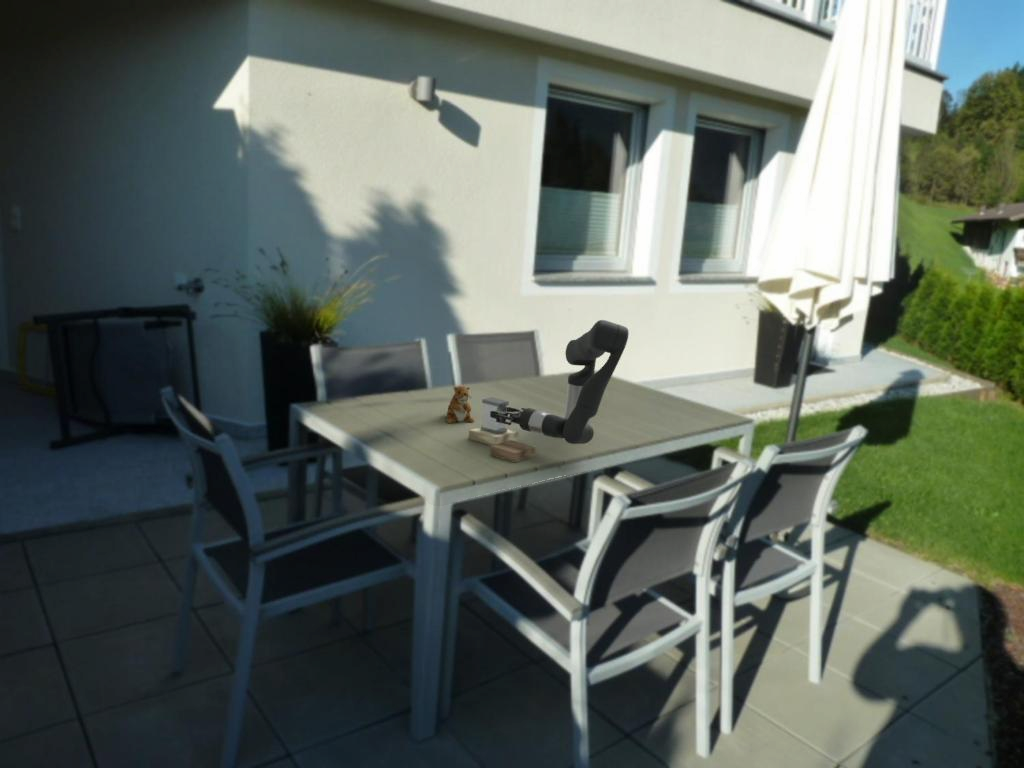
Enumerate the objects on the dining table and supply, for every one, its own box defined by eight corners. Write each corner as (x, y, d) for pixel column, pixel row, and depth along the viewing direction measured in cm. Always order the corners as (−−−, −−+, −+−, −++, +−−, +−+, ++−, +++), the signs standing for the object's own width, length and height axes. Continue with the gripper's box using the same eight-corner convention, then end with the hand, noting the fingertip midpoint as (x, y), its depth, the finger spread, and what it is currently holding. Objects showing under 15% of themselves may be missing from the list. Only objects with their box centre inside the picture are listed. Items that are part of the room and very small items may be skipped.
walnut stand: (510, 448, 251) (510, 440, 250) (533, 456, 245) (534, 447, 244) (490, 454, 243) (490, 445, 243) (514, 462, 237) (515, 453, 237)
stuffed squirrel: (448, 424, 276) (450, 389, 273) (441, 414, 289) (442, 380, 287) (475, 424, 279) (477, 389, 276) (466, 414, 292) (468, 380, 289)
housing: (490, 427, 264) (491, 397, 262) (506, 432, 260) (508, 401, 258) (480, 429, 261) (482, 399, 258) (497, 434, 256) (499, 403, 254)
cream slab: (491, 432, 269) (491, 424, 268) (517, 439, 262) (518, 431, 261) (468, 438, 260) (469, 430, 259) (495, 446, 253) (495, 437, 252)
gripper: (550, 407, 252) (512, 398, 262) (524, 414, 242) (485, 404, 251) (549, 429, 254) (511, 419, 264) (522, 436, 243) (484, 426, 253)
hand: (499, 411), depth 258 cm, fingers open, 8 cm apart
